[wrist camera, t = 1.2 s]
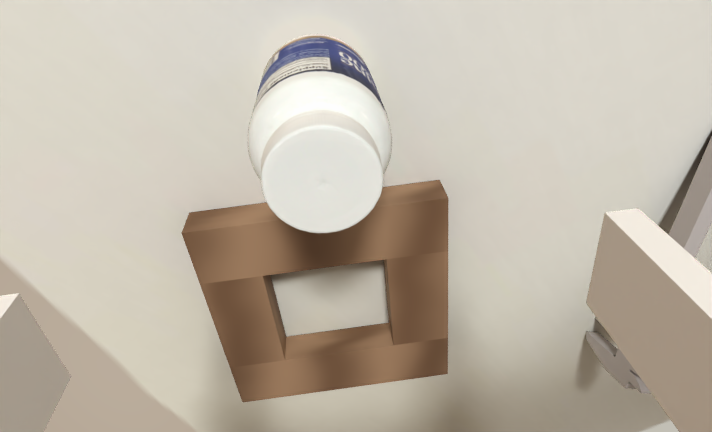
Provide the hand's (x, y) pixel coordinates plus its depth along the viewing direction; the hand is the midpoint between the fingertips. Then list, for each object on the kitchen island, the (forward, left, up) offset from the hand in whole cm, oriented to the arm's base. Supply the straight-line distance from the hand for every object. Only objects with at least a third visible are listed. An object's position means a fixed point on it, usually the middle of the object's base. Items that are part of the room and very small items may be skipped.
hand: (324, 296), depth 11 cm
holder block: (+1, +13, -15) cm, 20 cm away
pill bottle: (0, 0, -15) cm, 15 cm away
